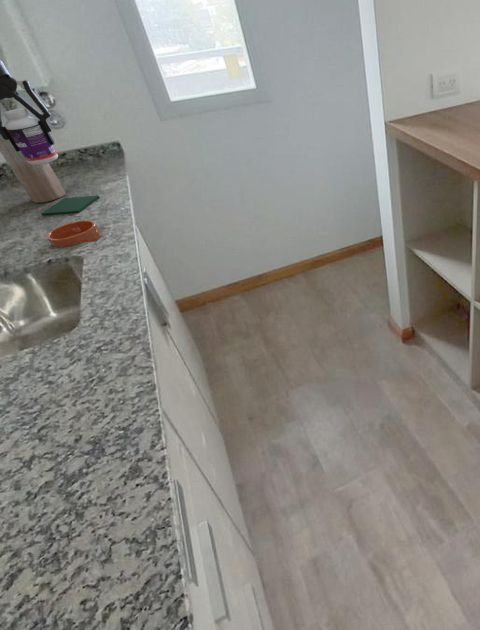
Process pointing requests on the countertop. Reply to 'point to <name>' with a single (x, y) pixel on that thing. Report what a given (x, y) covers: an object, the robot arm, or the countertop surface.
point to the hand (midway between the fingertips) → (36, 146)
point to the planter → (32, 175)
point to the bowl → (74, 233)
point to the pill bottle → (29, 137)
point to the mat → (70, 205)
